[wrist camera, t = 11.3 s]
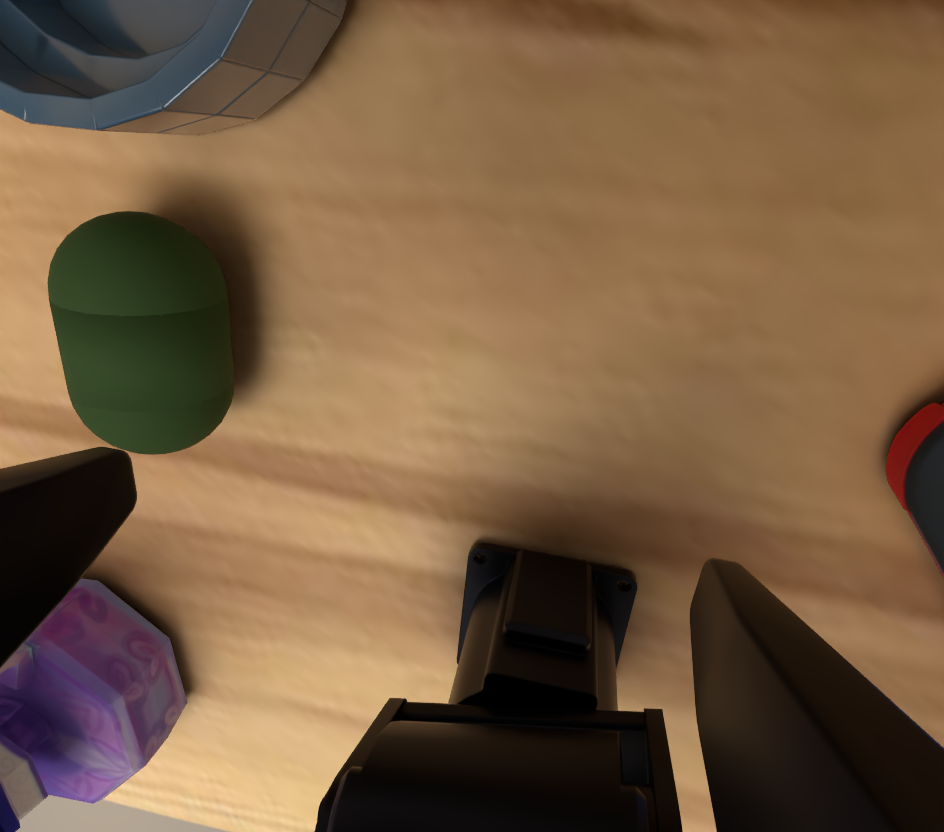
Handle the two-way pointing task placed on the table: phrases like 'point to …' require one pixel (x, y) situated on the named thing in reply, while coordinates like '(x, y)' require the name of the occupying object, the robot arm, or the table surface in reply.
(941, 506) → the game console
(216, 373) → the green rounded cylinder
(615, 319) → the table surface
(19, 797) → the lantern
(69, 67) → the bowl
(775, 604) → the robot arm
